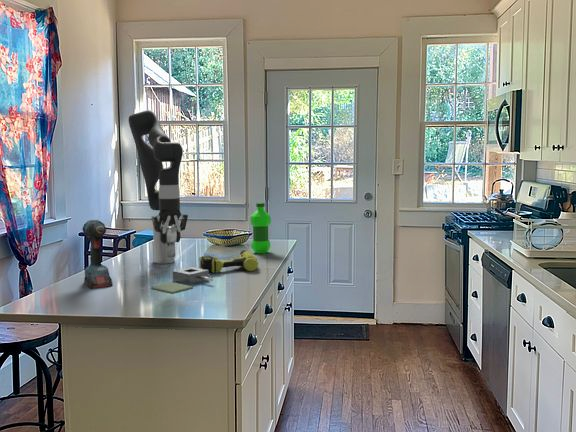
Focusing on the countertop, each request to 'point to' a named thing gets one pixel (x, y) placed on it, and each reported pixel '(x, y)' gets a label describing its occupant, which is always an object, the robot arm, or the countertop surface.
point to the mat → (172, 287)
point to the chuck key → (171, 240)
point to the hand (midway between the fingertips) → (170, 242)
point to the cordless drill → (229, 262)
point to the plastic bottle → (260, 229)
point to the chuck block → (191, 275)
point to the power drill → (96, 256)
